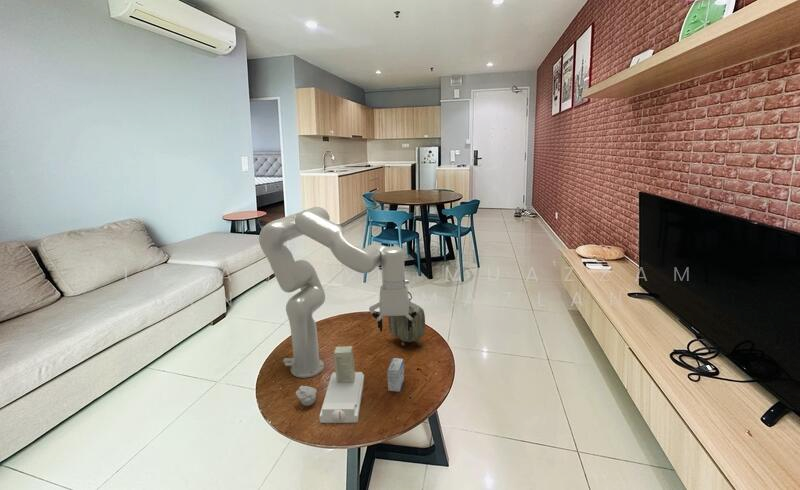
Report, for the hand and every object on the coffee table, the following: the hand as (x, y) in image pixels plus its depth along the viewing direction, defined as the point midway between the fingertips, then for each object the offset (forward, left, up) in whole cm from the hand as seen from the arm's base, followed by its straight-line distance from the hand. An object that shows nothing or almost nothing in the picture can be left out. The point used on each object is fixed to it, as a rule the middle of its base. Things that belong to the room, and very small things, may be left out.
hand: (395, 329), depth 133 cm
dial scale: (-18, -8, -22) cm, 30 cm away
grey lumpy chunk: (-30, -10, -23) cm, 39 cm away
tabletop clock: (+4, +29, -23) cm, 37 cm away
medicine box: (0, 0, -23) cm, 23 cm away
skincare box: (-18, -1, -19) cm, 26 cm away
